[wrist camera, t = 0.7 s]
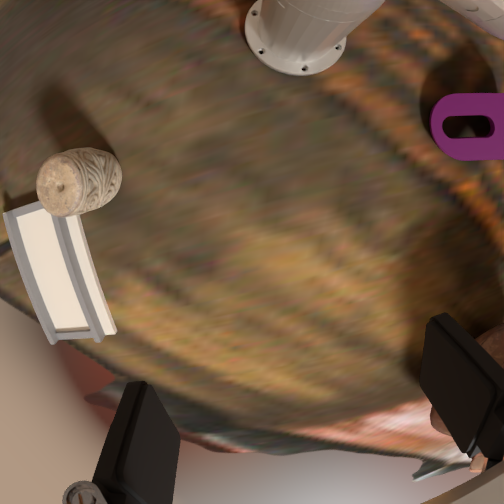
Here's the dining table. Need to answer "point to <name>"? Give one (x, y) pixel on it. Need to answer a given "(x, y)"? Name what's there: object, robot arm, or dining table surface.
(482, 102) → the mounting bracket
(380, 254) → the dining table surface
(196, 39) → the dining table surface
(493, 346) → the pottery vessel
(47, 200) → the carving
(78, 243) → the rail plate
